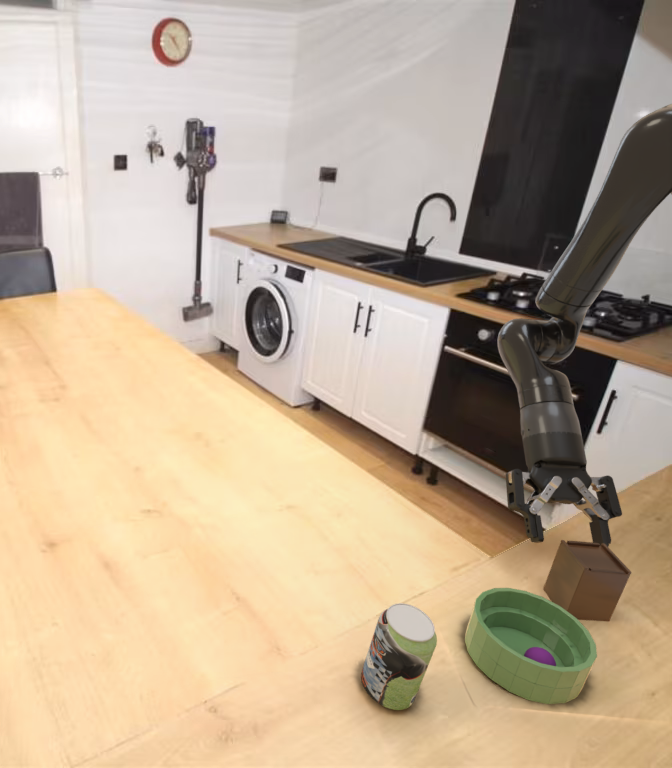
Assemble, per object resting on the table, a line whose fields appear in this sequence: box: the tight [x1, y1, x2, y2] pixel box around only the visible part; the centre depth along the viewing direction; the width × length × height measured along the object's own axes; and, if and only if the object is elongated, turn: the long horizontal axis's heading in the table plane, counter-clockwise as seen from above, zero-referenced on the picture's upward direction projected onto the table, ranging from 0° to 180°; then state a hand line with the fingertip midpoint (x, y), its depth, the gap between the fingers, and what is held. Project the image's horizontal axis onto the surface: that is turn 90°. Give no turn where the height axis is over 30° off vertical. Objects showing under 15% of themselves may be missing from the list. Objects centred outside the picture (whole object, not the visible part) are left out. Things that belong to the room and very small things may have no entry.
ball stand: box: [542, 539, 632, 622], centre depth 74 cm, size 6×6×9 cm
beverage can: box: [360, 602, 438, 711], centre depth 61 cm, size 6×7×12 cm
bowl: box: [464, 587, 598, 705], centre depth 66 cm, size 12×12×6 cm
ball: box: [524, 647, 556, 666], centre depth 65 cm, size 3×3×3 cm
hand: (569, 545), depth 78 cm, fingers open, 8 cm apart
